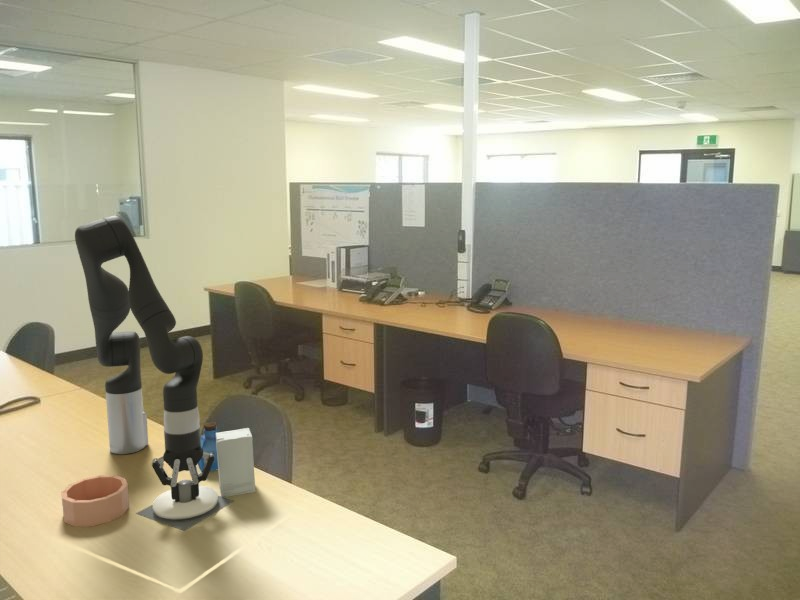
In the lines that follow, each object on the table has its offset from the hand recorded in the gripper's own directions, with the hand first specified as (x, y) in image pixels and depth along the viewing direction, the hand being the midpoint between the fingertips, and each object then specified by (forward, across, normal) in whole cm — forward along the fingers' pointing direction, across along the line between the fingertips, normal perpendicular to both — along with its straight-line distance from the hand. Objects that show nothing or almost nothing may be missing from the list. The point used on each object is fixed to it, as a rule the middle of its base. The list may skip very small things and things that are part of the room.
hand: (185, 498), depth 142 cm
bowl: (+3, -19, +4) cm, 20 cm away
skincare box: (+3, +11, +6) cm, 13 cm away
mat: (+3, 0, 0) cm, 3 cm away
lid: (+2, 0, 0) cm, 2 cm away
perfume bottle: (+3, +6, +21) cm, 22 cm away
